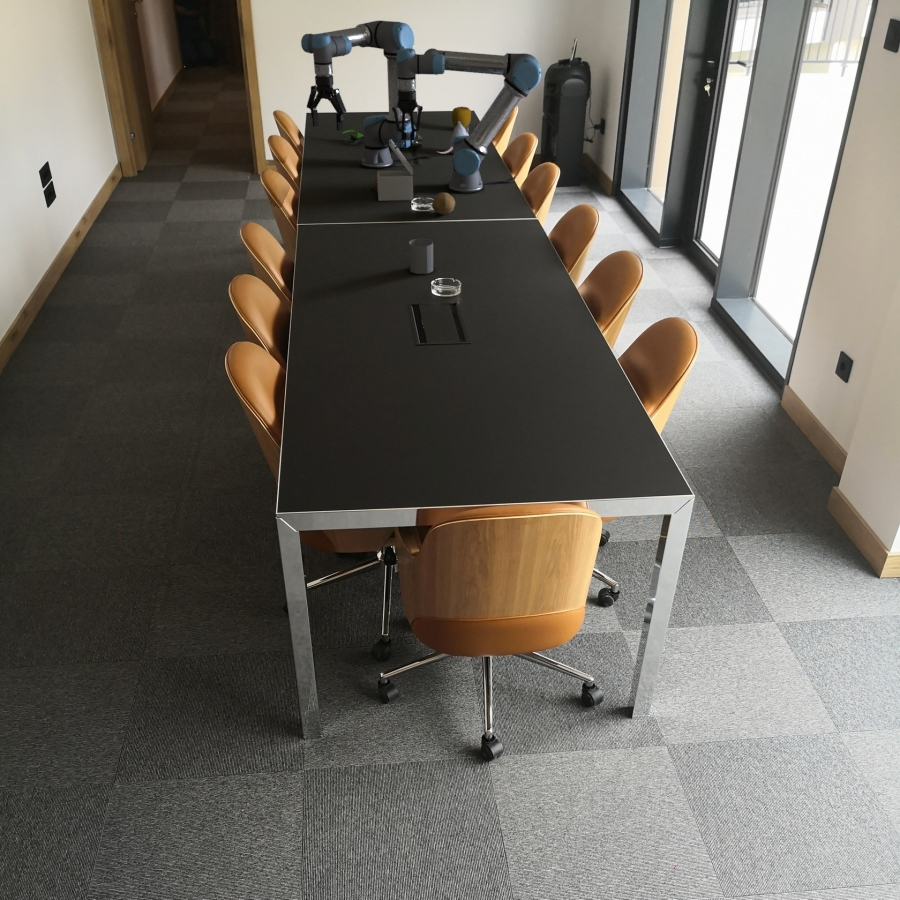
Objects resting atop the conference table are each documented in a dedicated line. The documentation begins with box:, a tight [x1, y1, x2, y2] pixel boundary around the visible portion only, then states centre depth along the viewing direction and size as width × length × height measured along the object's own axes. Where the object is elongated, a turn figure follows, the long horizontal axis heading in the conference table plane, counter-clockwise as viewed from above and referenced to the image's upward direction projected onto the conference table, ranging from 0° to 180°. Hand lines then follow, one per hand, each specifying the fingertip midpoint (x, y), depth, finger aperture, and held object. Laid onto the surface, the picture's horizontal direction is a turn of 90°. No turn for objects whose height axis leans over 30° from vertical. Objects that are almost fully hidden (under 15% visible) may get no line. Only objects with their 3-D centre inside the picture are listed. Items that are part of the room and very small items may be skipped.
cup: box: [408, 237, 434, 275], centre depth 305 cm, size 8×8×10 cm
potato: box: [431, 192, 456, 216], centre depth 360 cm, size 10×14×8 cm
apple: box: [451, 105, 472, 129], centre depth 487 cm, size 11×11×13 cm
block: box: [372, 179, 378, 193], centre depth 391 cm, size 4×4×4 cm
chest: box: [376, 170, 414, 202], centre depth 380 cm, size 15×10×10 cm, turn 94°
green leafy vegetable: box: [340, 129, 364, 146], centre depth 465 cm, size 6×13×30 cm
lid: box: [389, 132, 414, 176], centre depth 373 cm, size 16×10×9 cm
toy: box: [437, 121, 470, 155], centre depth 440 cm, size 9×24×15 cm, turn 137°
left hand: (327, 128), depth 372 cm, fingers open, 13 cm apart
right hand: (408, 148), depth 372 cm, fingers closed on lid, 2 cm apart
